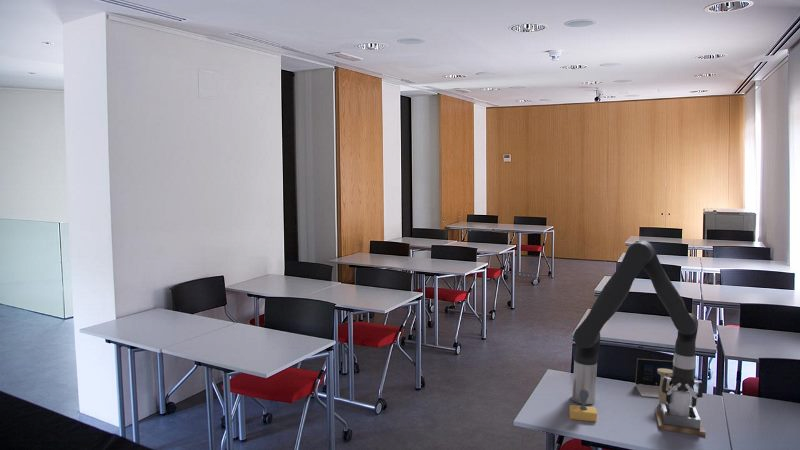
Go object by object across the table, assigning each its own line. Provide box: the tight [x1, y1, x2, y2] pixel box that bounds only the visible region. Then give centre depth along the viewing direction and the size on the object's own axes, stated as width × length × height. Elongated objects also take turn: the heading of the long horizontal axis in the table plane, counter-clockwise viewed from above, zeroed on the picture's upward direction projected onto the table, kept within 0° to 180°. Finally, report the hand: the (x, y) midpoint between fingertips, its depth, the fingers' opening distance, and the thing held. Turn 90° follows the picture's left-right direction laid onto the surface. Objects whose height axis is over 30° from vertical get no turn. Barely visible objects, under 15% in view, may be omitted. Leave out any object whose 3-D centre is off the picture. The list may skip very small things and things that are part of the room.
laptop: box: [635, 358, 673, 399], centre depth 255 cm, size 18×12×13 cm
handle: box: [657, 368, 673, 406], centre depth 243 cm, size 5×6×15 cm
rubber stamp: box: [568, 389, 598, 422], centre depth 230 cm, size 10×6×12 cm, turn 78°
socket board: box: [654, 402, 707, 437], centre depth 226 cm, size 16×15×6 cm
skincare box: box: [669, 389, 691, 417], centre depth 226 cm, size 6×4×12 cm
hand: (680, 404), depth 225 cm, fingers open, 8 cm apart
